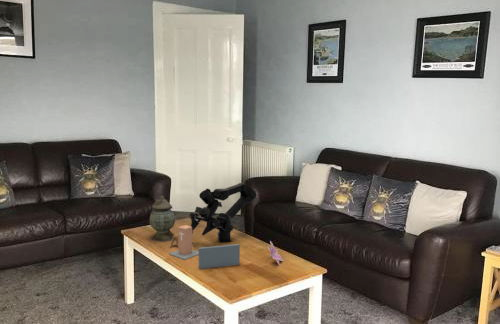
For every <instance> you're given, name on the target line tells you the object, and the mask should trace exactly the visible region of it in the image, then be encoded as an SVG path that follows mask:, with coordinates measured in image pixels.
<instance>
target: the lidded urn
mask: <svg viewBox="0 0 500 324" xmlns="http://www.w3.org/2000/svg"><path fill="white" fill-rule="evenodd" d="M172 209H173V206H172V204H171V203H169V201H168V199H165V196H164V195H160V196H159V198H158V199H156V200H155V201H154V203H153V204H152V205H151V212H150V216H149V225H150V227H151V228H152V229H153V230H155V231H156V232H155V233H154V234H153V235H152V236H151V238H152V240H153V241H156V242H170V241H172V238H173V236H174V235H175V234H174V233H173V232H171V229H172V228H173V227H174V226H175V223H176V216H175V214H174V211H173V210H172Z"/></svg>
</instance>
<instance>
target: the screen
mask: <svg viewBox="0 0 500 324" xmlns="http://www.w3.org/2000/svg"><path fill="white" fill-rule="evenodd" d="M240 247H241V246H240V244H239V243H238V244H237V243H236V244H225V245H216V246H215V245H214V246H204V247H203V246H202V247H198V251H199V255H198V270H200V269H201V270H202V269H210V268H218V267H219V268H220V267H229V266H231V267H232V266H239V265H240V260H241V259H240V257H241V256H240V255H241V254H240V249H241V248H240Z"/></svg>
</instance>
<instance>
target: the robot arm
mask: <svg viewBox="0 0 500 324" xmlns="http://www.w3.org/2000/svg"><path fill="white" fill-rule="evenodd" d="M237 193H240V196H239V197H238V199H237V200H236V202H234V203H233V204H232V205H231V207H229V209H228V210H227V211H226V212H225V213H223V212H219V214H218V215H217V216H216V211H217V210H218V209H219V208H223V204H222V202H223V201H225V200H227V199H229V197H230V196H233V195H234V194H235V195H236V194H237ZM256 197H257V193H256V190H254V189H252V188H251V187H249V186H248V185H247V184H245V183H243V182H239V183H237V184H235V185H231V186H229V187H226V188H215V189H214V190H213V191H211V189H210V188H206V189H204V190H202V191H201V192H200V193H199V198H200V199H201V200H202V202H203V203H204V204H205V205H206V206H203V207H200V206H196V207H195V210H194V212H190V214H189V215H188V216H189V218H190V219H191V222H190V226H191V227H192V231H193V232H194V230H195V229H196V228H197V227H198V225H199V224H200V222H205V223H206V226H205V228H204V230H203V231H202V234H201V235H202V236H205V235H207V234H208V233H209V232H211V231H213V230H215V229H216V230H218V232H217V240H218V241H219V242H220V243H226V242H232V239H231V232H232V231H233V230H234V226H233V224H232V222H233V219H234V218H235V216H236V215H237V214H238V213H239V212H241V210H242V209H243V207H244V206H245V205H246V204H248V203H251V202H253V201H254V200H255V199H256ZM221 201H222V202H221Z"/></svg>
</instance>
